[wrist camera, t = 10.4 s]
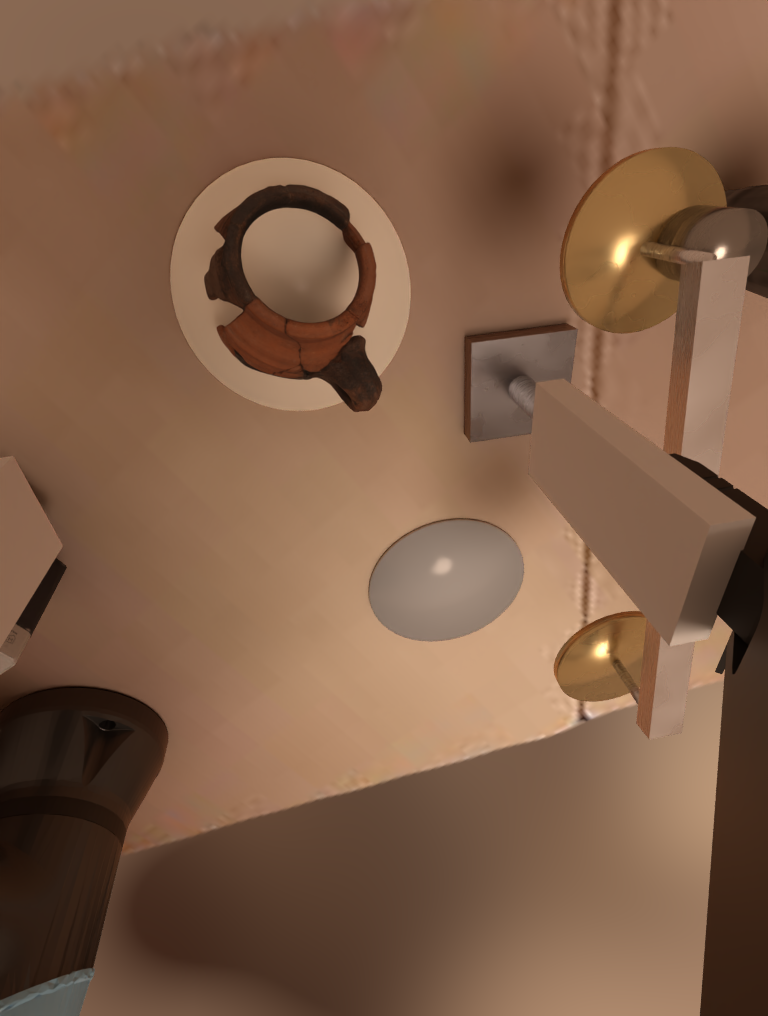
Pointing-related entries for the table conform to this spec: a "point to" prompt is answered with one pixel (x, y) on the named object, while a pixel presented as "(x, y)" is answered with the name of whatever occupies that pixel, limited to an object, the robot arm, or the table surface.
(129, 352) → the table surface
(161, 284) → the table surface
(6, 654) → the camera
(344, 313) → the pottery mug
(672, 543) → the robot arm
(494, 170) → the table surface
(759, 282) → the beverage cup
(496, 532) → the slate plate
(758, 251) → the balance
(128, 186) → the table surface
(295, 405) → the cream plate
